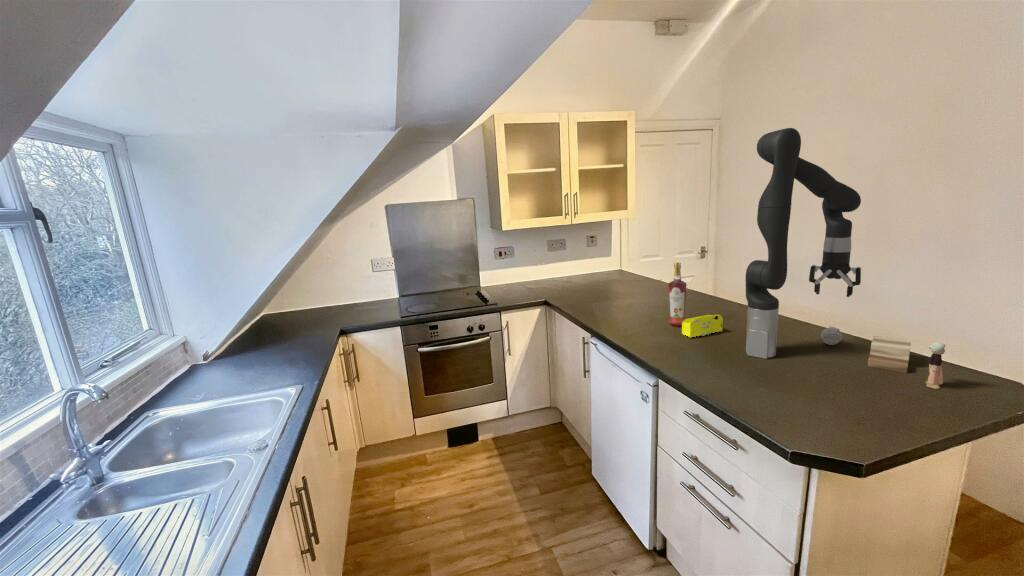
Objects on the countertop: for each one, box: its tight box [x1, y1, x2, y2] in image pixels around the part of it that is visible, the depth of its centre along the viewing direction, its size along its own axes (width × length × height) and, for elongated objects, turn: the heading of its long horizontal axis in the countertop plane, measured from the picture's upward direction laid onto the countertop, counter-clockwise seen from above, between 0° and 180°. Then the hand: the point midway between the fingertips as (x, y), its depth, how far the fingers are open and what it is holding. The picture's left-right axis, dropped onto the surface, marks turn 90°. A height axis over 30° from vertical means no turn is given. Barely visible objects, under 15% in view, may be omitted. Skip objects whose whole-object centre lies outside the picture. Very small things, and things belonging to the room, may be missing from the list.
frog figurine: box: [820, 326, 843, 346], centre depth 148 cm, size 6×7×7 cm
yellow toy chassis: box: [681, 313, 724, 338], centre depth 168 cm, size 16×6×8 cm, turn 107°
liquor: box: [668, 262, 688, 327], centre depth 180 cm, size 7×7×28 cm
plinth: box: [867, 335, 912, 374], centre depth 131 cm, size 14×9×6 cm, turn 135°
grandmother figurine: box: [925, 341, 946, 390], centre depth 114 cm, size 8×4×13 cm, turn 148°
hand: (832, 295), depth 145 cm, fingers open, 8 cm apart
